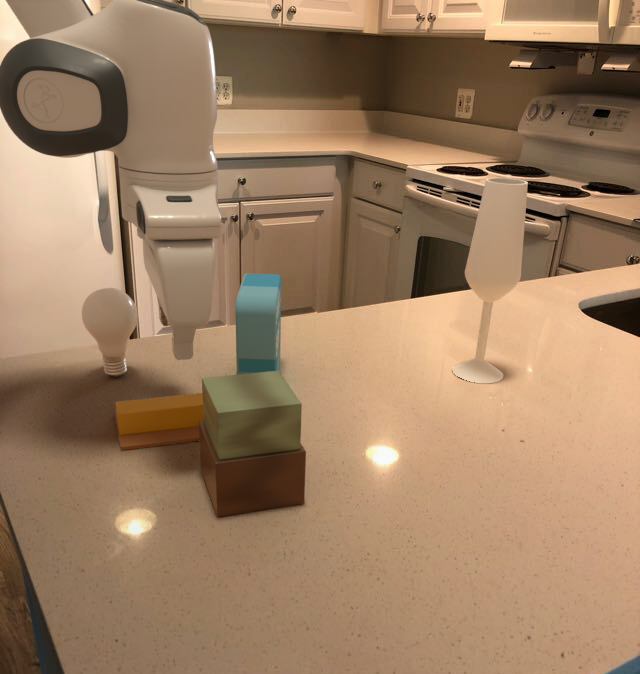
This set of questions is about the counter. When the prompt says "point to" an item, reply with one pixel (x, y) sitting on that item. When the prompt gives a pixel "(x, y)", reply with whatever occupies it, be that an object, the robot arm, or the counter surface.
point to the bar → (159, 413)
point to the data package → (258, 323)
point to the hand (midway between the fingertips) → (175, 339)
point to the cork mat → (157, 437)
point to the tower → (251, 443)
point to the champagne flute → (494, 262)
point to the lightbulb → (110, 325)
